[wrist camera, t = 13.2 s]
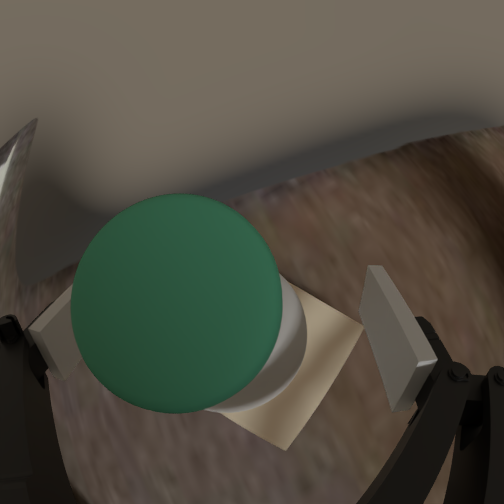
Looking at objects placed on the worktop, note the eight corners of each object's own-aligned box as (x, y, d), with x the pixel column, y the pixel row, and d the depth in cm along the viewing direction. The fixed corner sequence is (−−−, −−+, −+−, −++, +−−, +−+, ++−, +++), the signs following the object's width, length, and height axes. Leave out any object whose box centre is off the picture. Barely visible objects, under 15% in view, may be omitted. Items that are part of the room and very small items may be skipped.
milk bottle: (204, 299, 25) (63, 153, 7) (292, 301, 25) (345, 131, 6) (200, 385, 23) (16, 431, 4) (291, 389, 22) (363, 494, 3)
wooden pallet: (351, 331, 28) (364, 326, 24) (283, 437, 24) (285, 450, 20) (222, 254, 32) (215, 238, 27) (155, 352, 28) (137, 350, 24)
